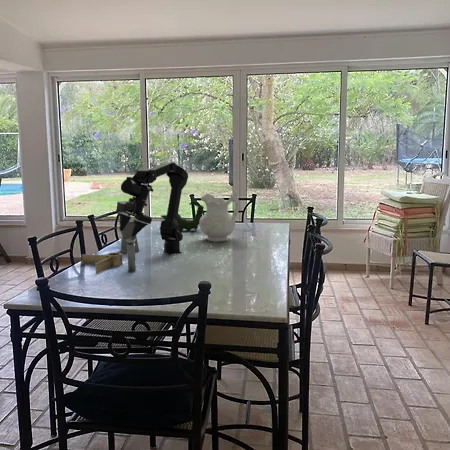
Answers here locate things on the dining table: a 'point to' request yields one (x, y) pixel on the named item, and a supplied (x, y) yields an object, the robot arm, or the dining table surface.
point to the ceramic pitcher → (218, 217)
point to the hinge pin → (131, 254)
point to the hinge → (103, 260)
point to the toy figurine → (188, 223)
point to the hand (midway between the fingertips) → (126, 233)
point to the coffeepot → (128, 236)
